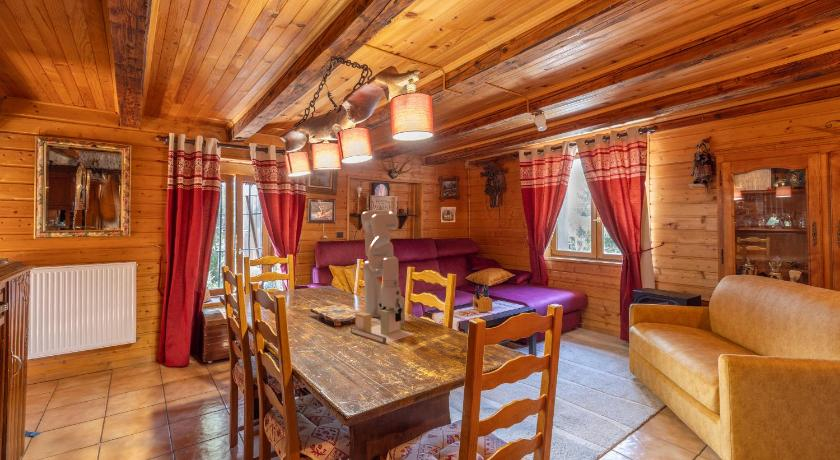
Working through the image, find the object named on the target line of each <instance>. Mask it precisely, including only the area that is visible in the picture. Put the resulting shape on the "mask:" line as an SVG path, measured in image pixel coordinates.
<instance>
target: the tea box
mask: <svg viewBox="0 0 840 460" xmlns="http://www.w3.org/2000/svg"><path fill="white" fill-rule="evenodd" d="M397 309H398V308H397ZM380 311H381V317H380V324H381V334H384V335H391V334H394V333H397V332H400V331H401V330H402V324H401V321H398V322H396V321H395V313H396V311H395V309H393V308H389V309H384V310H380Z"/></svg>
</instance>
